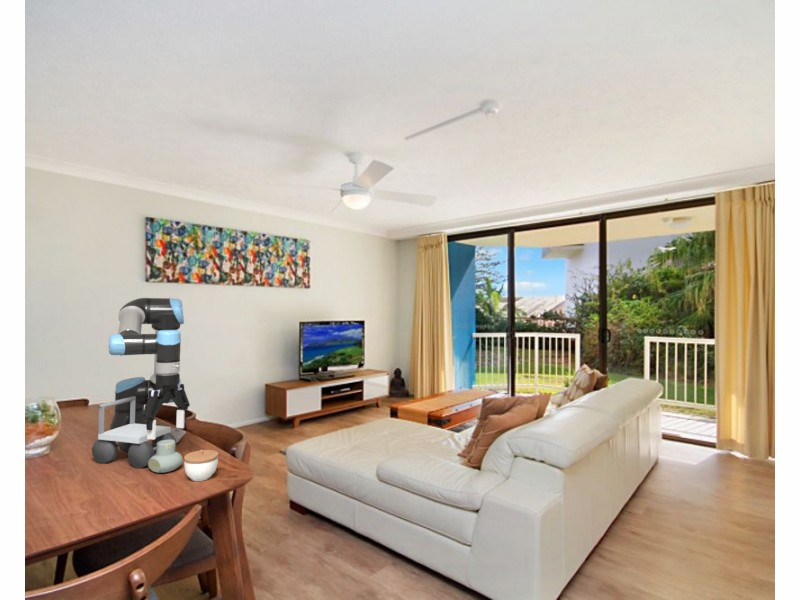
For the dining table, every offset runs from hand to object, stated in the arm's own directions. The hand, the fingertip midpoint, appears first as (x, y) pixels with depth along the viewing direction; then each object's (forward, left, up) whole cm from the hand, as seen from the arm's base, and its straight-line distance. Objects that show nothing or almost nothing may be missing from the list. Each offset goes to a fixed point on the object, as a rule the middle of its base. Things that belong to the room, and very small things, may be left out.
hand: (166, 433), depth 154 cm
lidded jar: (+3, +17, -13) cm, 21 cm away
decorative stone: (-26, -22, -13) cm, 37 cm away
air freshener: (0, 0, -13) cm, 13 cm away
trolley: (-5, -18, -13) cm, 23 cm away
